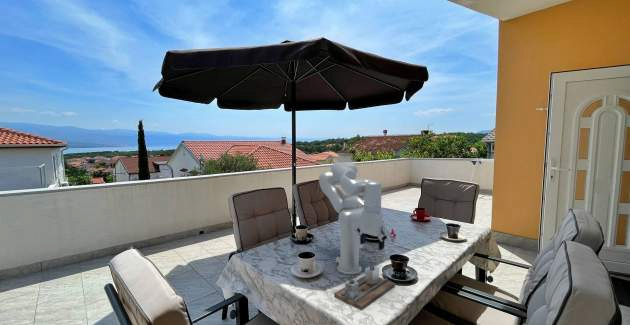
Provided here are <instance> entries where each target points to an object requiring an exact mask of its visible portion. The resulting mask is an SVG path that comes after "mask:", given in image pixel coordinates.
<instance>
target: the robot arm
mask: <svg viewBox="0 0 630 325" xmlns="http://www.w3.org/2000/svg"><path fill="white" fill-rule="evenodd" d="M357 174H358V167H357V165H356V163H355V162H352V161H345V162H344V161H342V162H341V161H338V162H335V163H334V164H332V165H331V167H330V170H328V171H327V170H326V171H323V172H321V173H320V174H319V176H318V184H319V187H320V189H321V191H322V193H324V195H325V196H326V197H327V198H328V200H329V202H330V204H331V205H332V207H333V208H334V210H335V211H336V213H338V214H339V215H338V225H339V230H340V231H339V233H340V237H339V239H340V241H339V242H340V243H339V244H340V253H339V254H340V256H337V257H336V259H335V262H336V263H338V264H337V267H336V268H337V270H338V271H339V273H341V274H345V275H357V274H359V273H361V272H362V269H363V268H362V265H361V264H360V263H359V262H360V261H359V260H360V259H359V258H360V252H359V251H360V250H359V249H360V248H359V247H360V245H363V244H365V243H366V238H367V237H366V235H369V236H372V237H377V238H378V240H379V241H378V251H381V250H383V249H385V241H386V239H388V238H389V236H390V234H391V232H390V231H389V230H388V229H387V228H386V227H385V226H384V225H385V224H384V216H383V212H382V188H383V187H382V183H381V182H380V181H377V180H374V179H371V178H357ZM338 186H340V188H339V187H338ZM342 191H343V192H344V193H345V194H344V193H343V192H342ZM346 194H347V195H346ZM360 196H363V200H362V198H361V197H360Z"/></svg>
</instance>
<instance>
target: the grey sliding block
mask: <svg viewBox="0 0 630 325" xmlns="http://www.w3.org/2000/svg"><path fill="white" fill-rule="evenodd" d="M364 269H365V270H364V276H365V282H367V283H369V284H372V285H373V284H375V283H376V282H378V281H379V278H380V268H379V267H377V266H375V265H369V266H368V267H365V268H364Z"/></svg>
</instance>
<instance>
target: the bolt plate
mask: <svg viewBox="0 0 630 325" xmlns="http://www.w3.org/2000/svg"><path fill="white" fill-rule="evenodd" d="M395 287H396V283H395V282H392V281H390V280H389V279H388V278H385V279H384V278H382V277H379V281H378V282H376V283H375V284H373V285H372V284H369V283H367V282H365V275H364V276H362V277H361V278H359V279H357V280H354V279H349V280H347V281H345V282H344V287H343V288H341V289H339V290H337V291H335V292H334V293H333V297H334V298H336V299H338V300H340V301H342V302H343V303H346V304H348V305H350V306H352V307H354V308H356V309H357V310H360V311H362V310H364V309H365V308H367V307H368V306H369V305H371V304H372V303H374V302H375V301H376V300H378V299H380V298H381V297H382V296H383V295H386V293H388V292H389V291H391V290H392V289H393V288H395Z"/></svg>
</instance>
